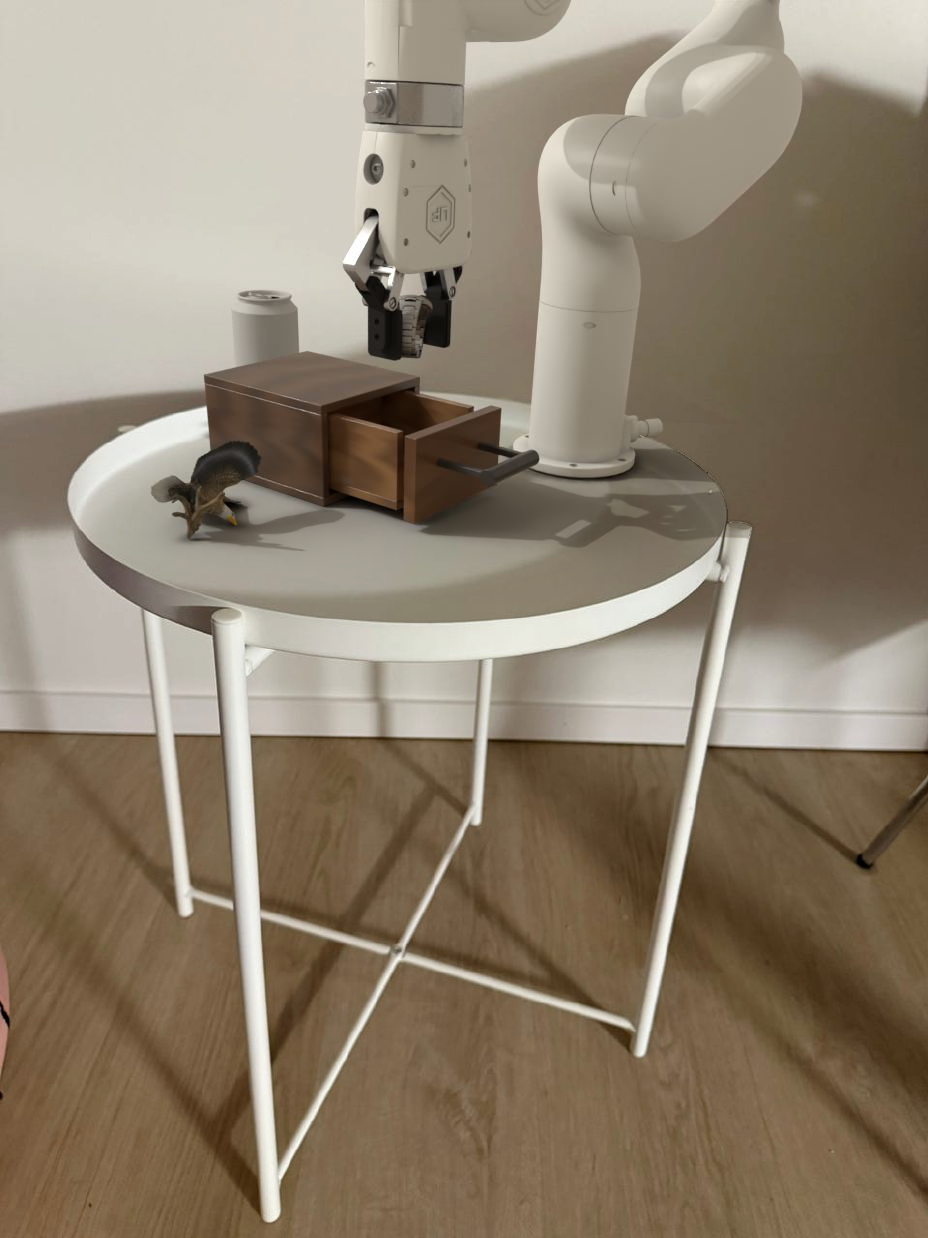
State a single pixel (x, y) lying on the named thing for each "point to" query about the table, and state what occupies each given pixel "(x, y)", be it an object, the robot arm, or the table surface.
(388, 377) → the cabinet
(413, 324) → the wristwatch
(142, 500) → the table surface
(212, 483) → the eagle figurine
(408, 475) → the drawer
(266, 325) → the can
